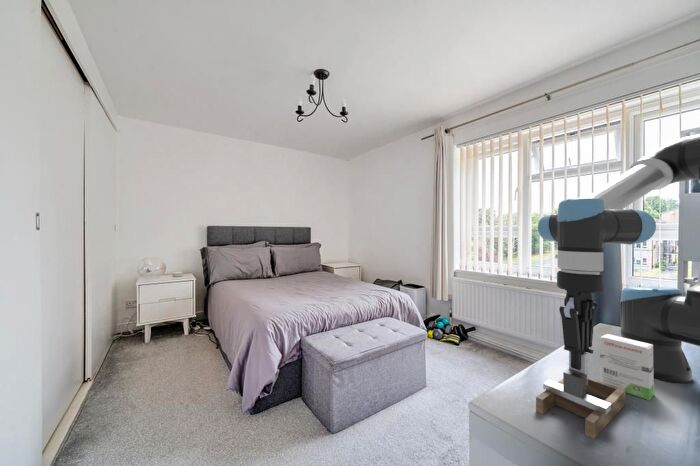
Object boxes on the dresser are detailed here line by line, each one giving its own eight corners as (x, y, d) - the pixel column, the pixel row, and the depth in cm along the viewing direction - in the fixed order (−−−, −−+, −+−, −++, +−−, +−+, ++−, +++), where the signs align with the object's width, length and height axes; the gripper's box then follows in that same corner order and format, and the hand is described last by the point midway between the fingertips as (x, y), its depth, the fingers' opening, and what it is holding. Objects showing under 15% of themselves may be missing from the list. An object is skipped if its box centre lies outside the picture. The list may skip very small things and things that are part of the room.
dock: (573, 384, 68) (573, 371, 68) (625, 403, 60) (625, 390, 60) (536, 411, 58) (536, 396, 58) (593, 439, 50) (593, 422, 50)
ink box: (654, 394, 64) (654, 343, 64) (649, 401, 61) (649, 348, 61) (606, 378, 71) (606, 332, 71) (599, 383, 69) (599, 336, 69)
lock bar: (549, 384, 62) (549, 361, 62) (610, 409, 54) (610, 382, 54) (543, 388, 61) (543, 365, 61) (605, 415, 52) (605, 387, 52)
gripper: (570, 267, 65) (569, 367, 65) (544, 271, 58) (543, 383, 58) (613, 271, 59) (611, 382, 59) (590, 276, 52) (588, 401, 52)
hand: (578, 382), depth 58 cm, fingers closed
